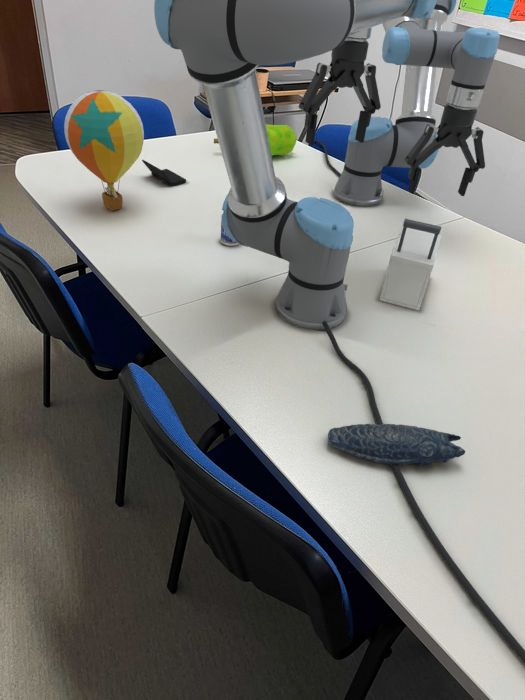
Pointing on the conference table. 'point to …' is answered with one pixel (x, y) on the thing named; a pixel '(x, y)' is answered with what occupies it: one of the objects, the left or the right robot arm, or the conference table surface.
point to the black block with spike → (165, 175)
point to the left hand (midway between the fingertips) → (334, 142)
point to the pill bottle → (226, 238)
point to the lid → (417, 244)
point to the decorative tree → (279, 139)
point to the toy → (105, 138)
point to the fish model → (395, 443)
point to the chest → (405, 284)
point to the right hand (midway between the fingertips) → (435, 193)
